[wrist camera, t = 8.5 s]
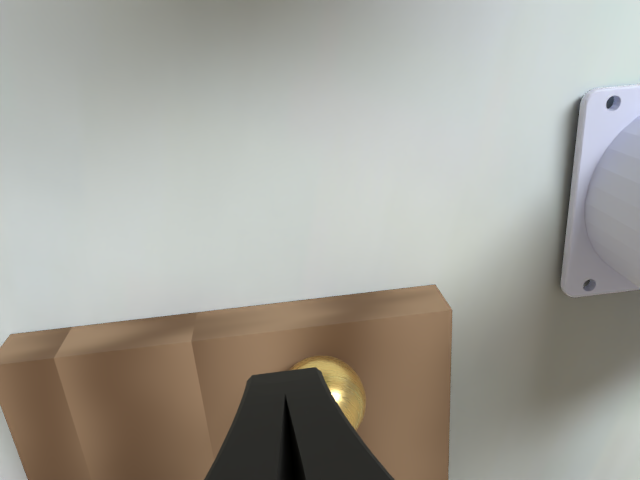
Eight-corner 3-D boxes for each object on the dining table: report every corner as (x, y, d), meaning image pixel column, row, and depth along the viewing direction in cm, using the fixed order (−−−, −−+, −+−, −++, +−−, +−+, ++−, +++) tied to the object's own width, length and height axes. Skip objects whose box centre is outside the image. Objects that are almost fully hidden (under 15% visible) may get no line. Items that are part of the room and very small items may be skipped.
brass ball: (355, 333, 19) (372, 386, 17) (359, 402, 21) (375, 462, 18) (271, 344, 19) (274, 399, 16) (279, 412, 20) (283, 474, 18)
